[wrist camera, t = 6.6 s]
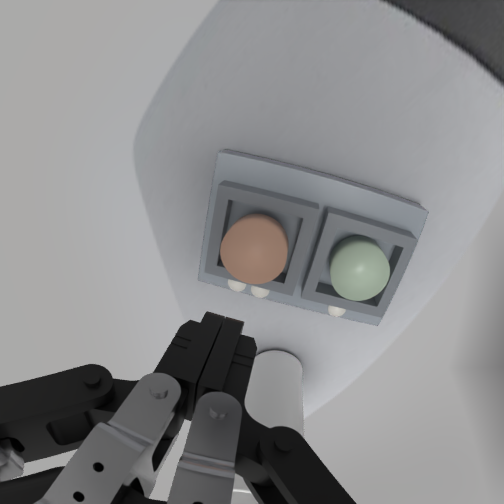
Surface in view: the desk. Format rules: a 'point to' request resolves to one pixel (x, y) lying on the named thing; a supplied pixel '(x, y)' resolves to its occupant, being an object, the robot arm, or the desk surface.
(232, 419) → the robot arm
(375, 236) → the two-button control panel
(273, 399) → the drinking glass
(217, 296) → the desk surface
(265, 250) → the button two
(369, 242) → the button one
